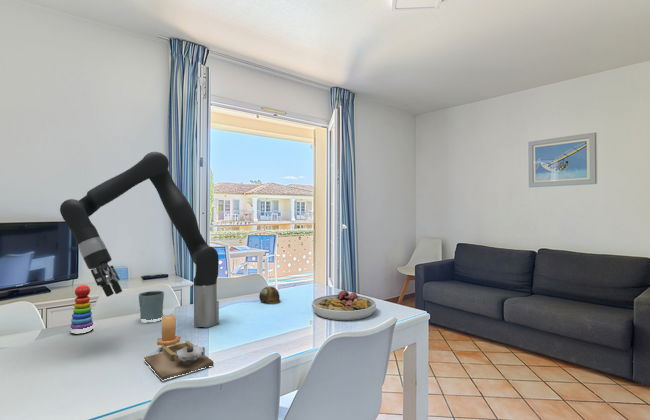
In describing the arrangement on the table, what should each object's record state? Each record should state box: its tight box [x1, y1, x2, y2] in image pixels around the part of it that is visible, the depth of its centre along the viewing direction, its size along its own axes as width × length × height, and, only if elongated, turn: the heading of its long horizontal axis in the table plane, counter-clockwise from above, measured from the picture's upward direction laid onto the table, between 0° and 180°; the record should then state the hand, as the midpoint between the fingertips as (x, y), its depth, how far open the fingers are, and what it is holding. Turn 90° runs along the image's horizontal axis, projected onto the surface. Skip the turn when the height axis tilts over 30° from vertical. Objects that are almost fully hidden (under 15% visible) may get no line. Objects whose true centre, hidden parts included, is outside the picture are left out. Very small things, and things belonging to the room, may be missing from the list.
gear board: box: [143, 340, 214, 380], centre depth 111 cm, size 15×18×6 cm
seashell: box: [258, 286, 281, 305], centre depth 185 cm, size 11×9×8 cm
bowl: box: [311, 289, 377, 321], centre depth 167 cm, size 30×30×8 cm
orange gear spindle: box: [156, 314, 181, 348], centre depth 123 cm, size 8×8×11 cm
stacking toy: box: [70, 284, 94, 329], centre depth 141 cm, size 8×8×19 cm
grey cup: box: [138, 290, 165, 320], centre depth 155 cm, size 10×10×12 cm
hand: (115, 294), depth 124 cm, fingers open, 8 cm apart
